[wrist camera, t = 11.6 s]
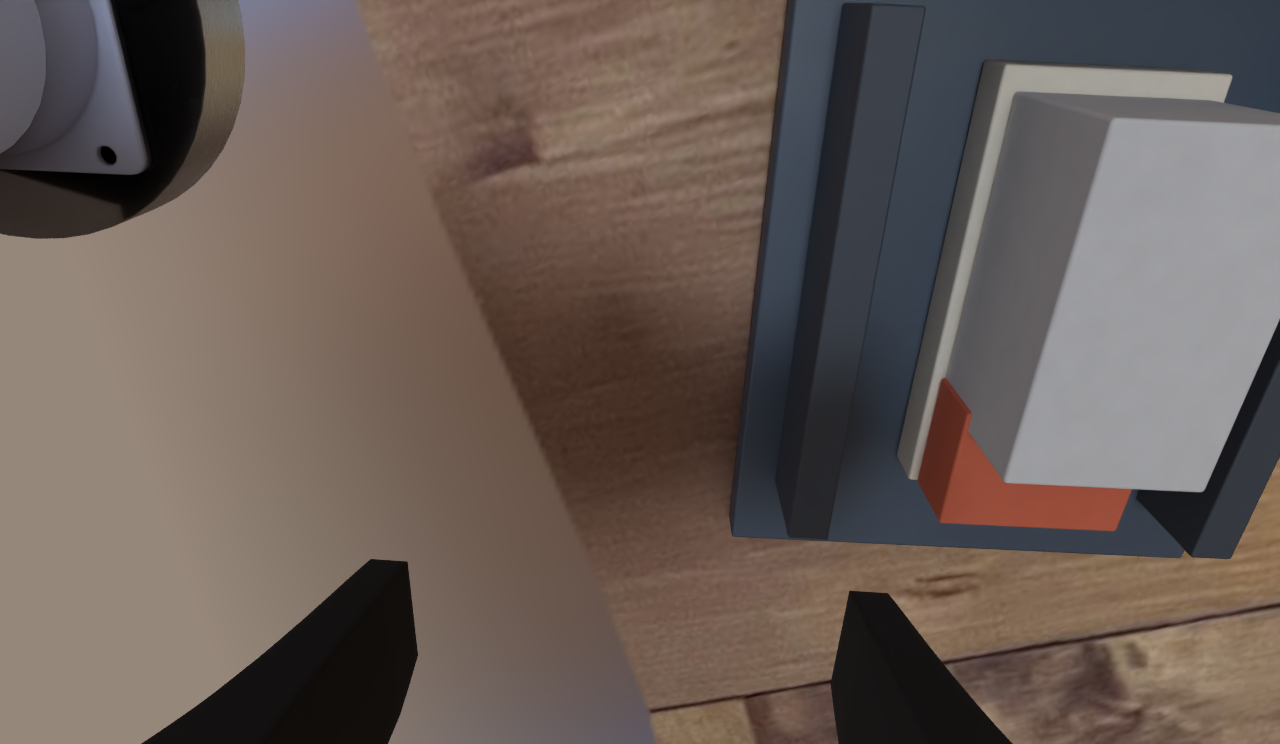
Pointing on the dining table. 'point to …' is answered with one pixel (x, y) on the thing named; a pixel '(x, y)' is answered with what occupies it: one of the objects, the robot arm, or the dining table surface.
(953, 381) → the white box
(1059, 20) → the dark grey flat tray
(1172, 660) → the dining table surface
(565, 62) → the dining table surface
